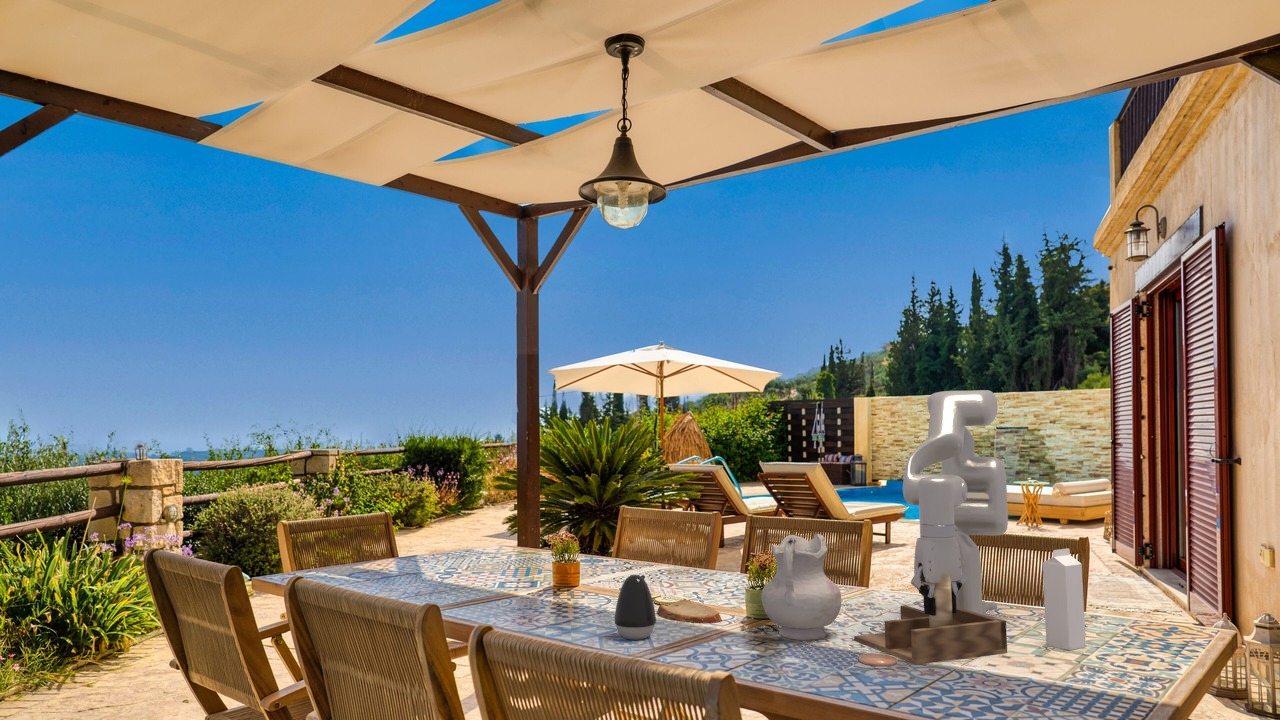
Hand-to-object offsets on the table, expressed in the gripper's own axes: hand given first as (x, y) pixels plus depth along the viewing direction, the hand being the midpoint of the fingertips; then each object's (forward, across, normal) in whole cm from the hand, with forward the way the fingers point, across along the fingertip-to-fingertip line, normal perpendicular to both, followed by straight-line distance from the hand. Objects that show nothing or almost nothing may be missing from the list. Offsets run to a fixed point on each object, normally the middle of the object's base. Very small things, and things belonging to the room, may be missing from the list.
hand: (940, 612), depth 200 cm
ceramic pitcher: (+9, +20, -27) cm, 35 cm away
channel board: (+9, -1, -6) cm, 11 cm away
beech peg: (+6, 0, 0) cm, 6 cm away
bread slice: (+10, +36, -60) cm, 70 cm away
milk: (+9, -30, +6) cm, 32 cm away
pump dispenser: (+9, +58, -42) cm, 72 cm away
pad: (+9, +17, 0) cm, 19 cm away
